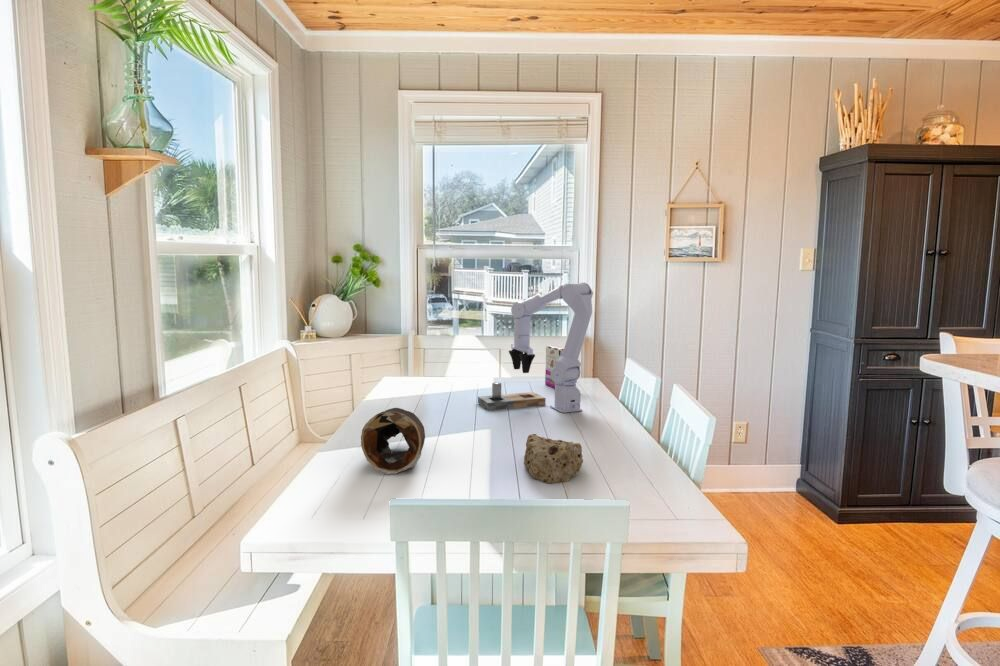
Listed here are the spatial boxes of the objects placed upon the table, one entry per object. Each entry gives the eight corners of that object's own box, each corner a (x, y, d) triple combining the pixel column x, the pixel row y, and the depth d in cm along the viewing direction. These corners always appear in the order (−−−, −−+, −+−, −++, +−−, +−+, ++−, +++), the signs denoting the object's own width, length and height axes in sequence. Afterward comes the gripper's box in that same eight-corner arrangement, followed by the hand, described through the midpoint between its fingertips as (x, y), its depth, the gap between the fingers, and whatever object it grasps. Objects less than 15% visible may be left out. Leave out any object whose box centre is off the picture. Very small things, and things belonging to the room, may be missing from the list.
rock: (516, 459, 158) (525, 423, 158) (569, 472, 159) (578, 435, 159) (524, 480, 138) (534, 438, 138) (584, 494, 139) (594, 452, 138)
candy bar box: (569, 389, 239) (570, 348, 237) (558, 390, 237) (559, 349, 235) (555, 383, 249) (556, 344, 247) (544, 384, 247) (545, 345, 245)
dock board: (545, 404, 213) (545, 398, 213) (488, 410, 204) (488, 403, 204) (533, 398, 222) (533, 392, 222) (477, 403, 214) (477, 396, 213)
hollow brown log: (427, 400, 168) (418, 406, 143) (434, 455, 167) (426, 470, 142) (374, 407, 168) (356, 414, 143) (381, 462, 167) (364, 478, 142)
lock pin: (502, 406, 210) (502, 384, 209) (494, 407, 209) (494, 384, 208) (498, 404, 213) (499, 382, 212) (490, 404, 212) (490, 382, 211)
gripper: (503, 332, 224) (503, 368, 226) (520, 337, 211) (520, 375, 213) (520, 331, 227) (520, 366, 229) (538, 336, 214) (537, 373, 216)
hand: (521, 370), depth 221 cm, fingers open, 7 cm apart
